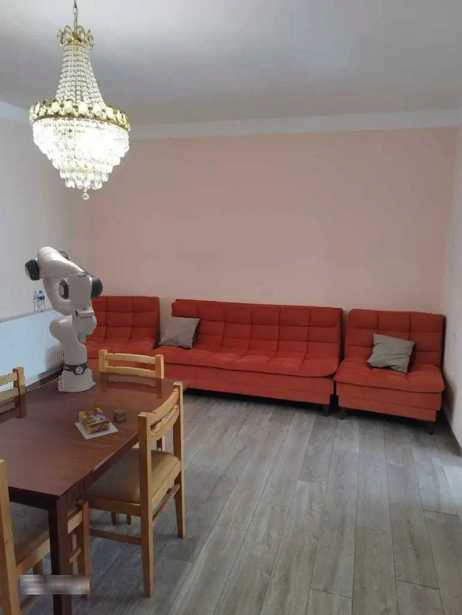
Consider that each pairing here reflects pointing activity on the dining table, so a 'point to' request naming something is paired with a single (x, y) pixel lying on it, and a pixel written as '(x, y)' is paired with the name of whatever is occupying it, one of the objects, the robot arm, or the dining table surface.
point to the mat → (96, 434)
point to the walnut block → (119, 415)
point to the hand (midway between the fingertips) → (82, 341)
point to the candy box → (94, 420)
